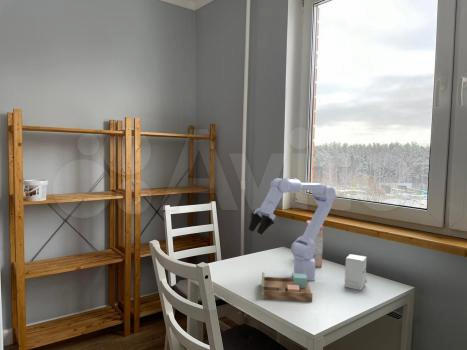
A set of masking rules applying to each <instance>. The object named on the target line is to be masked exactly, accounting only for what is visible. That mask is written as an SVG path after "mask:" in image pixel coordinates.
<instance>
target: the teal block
mask: <svg viewBox="0 0 467 350" xmlns="http://www.w3.org/2000/svg"><path fill="white" fill-rule="evenodd" d="M293 273H294V272H293ZM293 283H294V285H299V288H307V276H306V274H296V273H294V282H293Z"/></svg>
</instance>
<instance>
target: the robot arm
mask: <svg viewBox="0 0 467 350" xmlns="http://www.w3.org/2000/svg"><path fill="white" fill-rule="evenodd" d="M300 191H310V193H311V195H312V197H313V198H314V200H315V202H316V204H317V208H316V210H315V211H314V213H313V216H312V218H311V219H310V220H309V221H310V223H309V225H308V227H307V226H306V229H305V231H304V233H303V234H302V235H301V236H299V237H297V238H296V240H295V241H293V243H292V244H291V247H290V251H291V252H290V253H292V256H293V272H292V274H291V275H292V278H294V273H296V274H306V276H307V279H308V281H312V282H313V281H314V282H315V281H316V277H315V276H316V267H315V259H312V257H313V255H314V250H315V248H316V245H315V243H314V240H315V238H316V236H317V234H318V232H319V230H320V228H321V226H324V225H323V224H324V222H325V221H326V219H327V217H328V215H329V213H330V211H331V209H332V205H333V203H334V201H335V199H336V197H337V196H336V195H337V193H336V190H335V188H334V187H333V186H332V185H327V184H323V183H317V182H301V180H299V179H297V177H292V179H291V178H288V177H283V178H280V177H279V178H278V177H277V178H275V179H272V180H271V181H270V188H269V191H268V193H267V194H266V197H265V198H264V200H263V201H262V203H261V205H260V207H257V208H256V209H255V210H254V212H251V213H250V223H249V227H248V230H249V231H250V232H254V231H255V230H256V228H258V229H257V231H256V232H257V233H258V234H260V235H263V234H264V233H265V231H266V230H267V229H268V228H269V227H271V226H273V225H274V224H275V222H274V220H275V219H276V216H277V215H276V214H274V212H275V210H276V208H277V206H278V204H279V203H280V200H281V199H282V197H283V195H284V194H286V193H299V192H300Z"/></svg>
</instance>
